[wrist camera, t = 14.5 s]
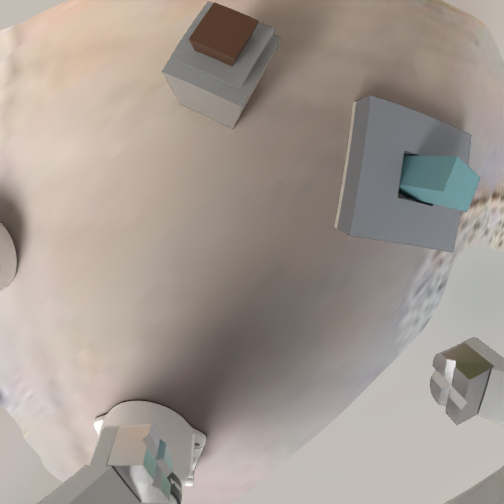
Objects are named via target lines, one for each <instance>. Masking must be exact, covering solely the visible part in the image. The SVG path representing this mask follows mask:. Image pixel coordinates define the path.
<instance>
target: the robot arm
mask: <svg viewBox="0 0 504 504" xmlns="http://www.w3.org/2000/svg"><path fill="white" fill-rule="evenodd" d="M433 367H434V368H435V369H436V370H435V372H434V373H433V375H432V376H431V381H430V388H431V393H432V395H433V397H434V399H435V400H436V402H437V403H438V404H440V405H444V406H446V413H447V415H448V416H449V417H450V418H451V419H452V420H453V422H454V423H455V424H456V425H458V424H460V423H462V422H464V421H466V420H468V419H470V418H471V417H473V416H475V415H477V414H478V416H480V417H483V418H485V419H488V420H490V421H493V422H495V423H498V424H500V425H503V426H504V358H503V357H502V356H500V355H499V354H498V353H496V352H495V351H494V350H493V349H491V348H490V347H489V346H487V345H486V344H485V343H483V342H482V341H481V340H479V339H478V338H475V337H472V338H470V339H468V340H466V341H464V342H462V343H461V344H458V345H456V346H454V347H452V348H450V349H447V350H445V351H443V352H441V353H438V354H436V356H435V357H434V360H433ZM94 427H95V429H96V431H97V433H98V439H97V443H96V447H95V451H94V455H93V457H92V460H91V463H90V465H85V466H84V467H83V468H81V469H80V470H79V471H78V472H77V473H75V474H74V475H73V476H72V477H70V478H69V479H68V480H67V481H65V482H64V483H63V484H62V485H61V486H59V487H58V488H57V489H55V490H54V491H53V492H52V493H50V494H49V495H48V496H46V497H45V498H44V499H43V500H42V501H40V502H39V503H37V504H181V500H182V488H183V486H184V485H185V486H193V482H194V468H195V466H196V464H197V461H198V459H199V457H200V455H201V452H202V450H203V448H204V445H205V443H206V436H205V435H204V434H203V433H201V432H200V431H198V430H196V429H194V428H192V427H191V426H190V425H189V424H188V423H187V422H186V420H185V419H184V418H183V417H181V416H180V415H179V414H178V413H176V412H175V411H173V410H171V409H169V408H167V407H165V406H162V405H159V404H156V403H152V402H147V401H128V402H123V403H120V404H118V405H116V406H115V407H113V408H112V409H111V410H110V411H109V413H107V414H106V415H104V416H100V417H97V418H96V419H95V421H94ZM444 504H504V466H503V467H501V468H500V469H499V470H497V471H496V472H494V473H493V474H491V475H490V476H489V477H487V478H486V479H484V480H483V481H481V482H479V483H478V484H476V485H475V486H473V487H472V488H470V489H468V490H467V491H465V492H463V493H462V494H460V495H458V496H457V497H455V498H453V499H451V500H449V501H447V502H446V503H444Z"/></svg>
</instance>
